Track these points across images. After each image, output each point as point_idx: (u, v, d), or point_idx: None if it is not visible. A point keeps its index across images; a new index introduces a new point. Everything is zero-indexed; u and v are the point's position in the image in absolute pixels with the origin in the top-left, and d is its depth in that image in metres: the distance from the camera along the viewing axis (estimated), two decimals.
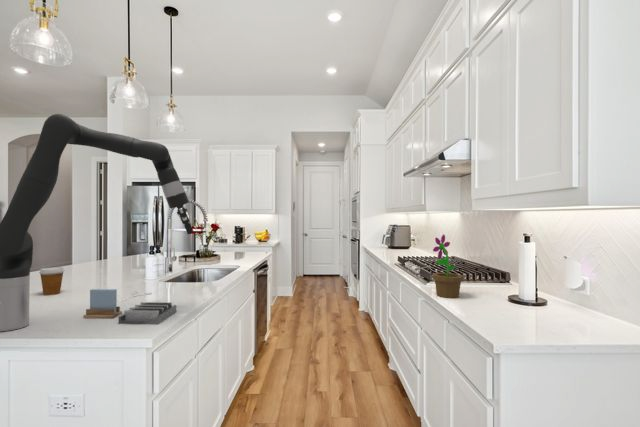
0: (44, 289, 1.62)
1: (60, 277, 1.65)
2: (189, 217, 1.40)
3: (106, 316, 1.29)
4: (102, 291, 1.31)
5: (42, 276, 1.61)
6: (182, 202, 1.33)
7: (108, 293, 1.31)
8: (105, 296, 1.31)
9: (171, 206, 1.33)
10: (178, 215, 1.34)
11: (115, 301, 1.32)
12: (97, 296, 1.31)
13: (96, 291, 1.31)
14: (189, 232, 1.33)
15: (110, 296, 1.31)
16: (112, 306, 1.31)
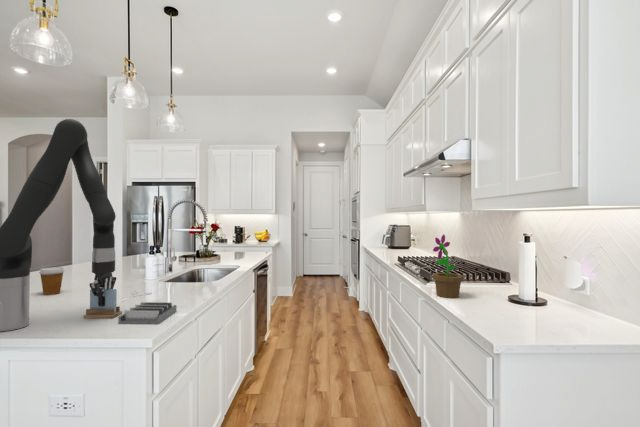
0: (44, 289, 1.62)
1: (60, 277, 1.65)
2: (109, 287, 1.32)
3: (106, 316, 1.29)
4: None
5: (42, 276, 1.61)
6: (101, 271, 1.28)
7: (108, 293, 1.31)
8: (105, 296, 1.31)
9: (92, 271, 1.29)
10: None
11: (115, 301, 1.32)
12: (97, 296, 1.31)
13: None
14: (99, 305, 1.30)
15: (110, 296, 1.31)
16: (112, 306, 1.31)
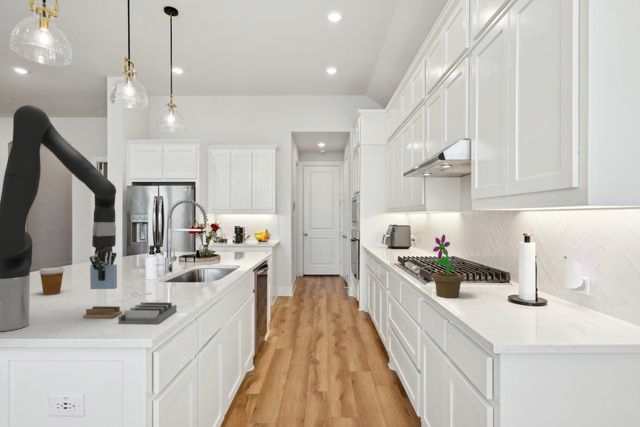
0: (44, 289, 1.62)
1: (60, 277, 1.65)
2: (109, 262, 1.32)
3: (106, 316, 1.29)
4: None
5: (42, 276, 1.61)
6: (102, 245, 1.28)
7: (108, 268, 1.31)
8: (105, 271, 1.31)
9: (92, 245, 1.29)
10: None
11: (115, 276, 1.32)
12: None
13: None
14: (99, 279, 1.30)
15: (110, 271, 1.31)
16: (112, 281, 1.31)
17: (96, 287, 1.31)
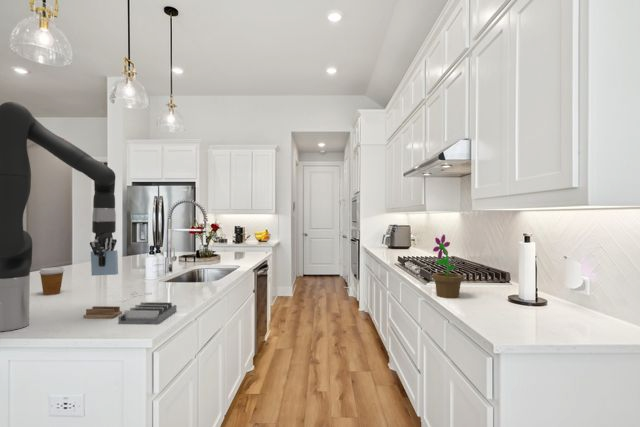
0: (44, 289, 1.62)
1: (60, 277, 1.65)
2: (109, 248, 1.32)
3: (106, 316, 1.29)
4: None
5: (42, 276, 1.61)
6: (102, 231, 1.28)
7: (109, 254, 1.31)
8: (106, 257, 1.31)
9: (92, 231, 1.29)
10: None
11: (116, 262, 1.32)
12: (98, 257, 1.31)
13: None
14: (99, 265, 1.30)
15: (111, 257, 1.31)
16: (113, 267, 1.31)
17: (97, 273, 1.31)
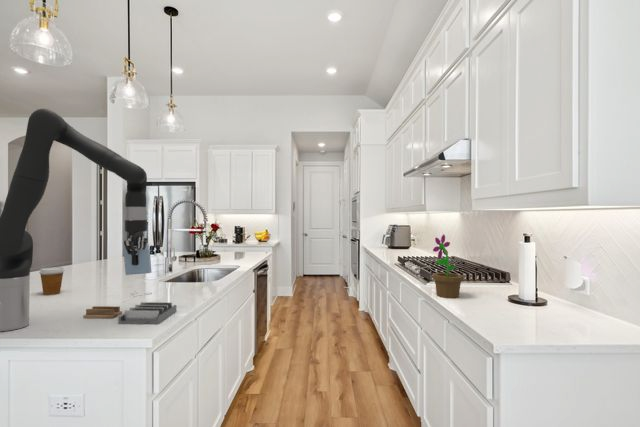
0: (44, 289, 1.62)
1: (60, 277, 1.65)
2: (141, 246, 1.32)
3: (106, 316, 1.29)
4: None
5: (42, 276, 1.61)
6: (135, 229, 1.28)
7: (142, 253, 1.30)
8: (139, 256, 1.30)
9: (125, 229, 1.29)
10: None
11: (149, 261, 1.31)
12: (131, 256, 1.30)
13: None
14: (133, 263, 1.29)
15: (144, 256, 1.30)
16: (147, 265, 1.31)
17: (131, 273, 1.30)
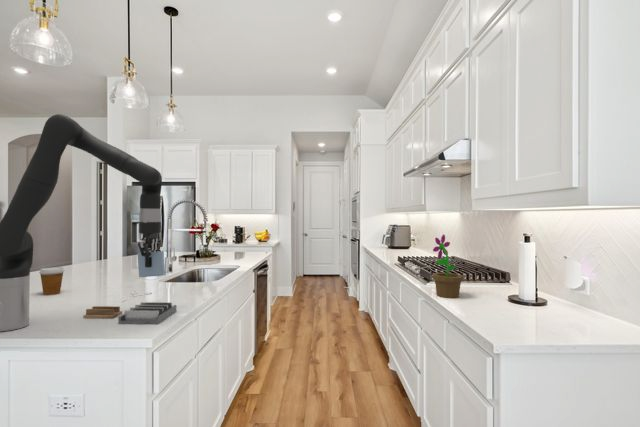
0: (44, 289, 1.62)
1: (60, 277, 1.65)
2: (155, 248, 1.31)
3: (106, 316, 1.29)
4: None
5: (42, 276, 1.61)
6: (149, 231, 1.27)
7: (156, 255, 1.30)
8: (153, 258, 1.30)
9: (139, 231, 1.28)
10: None
11: (163, 263, 1.31)
12: None
13: None
14: (146, 265, 1.29)
15: (158, 258, 1.30)
16: (161, 268, 1.30)
17: (145, 275, 1.30)
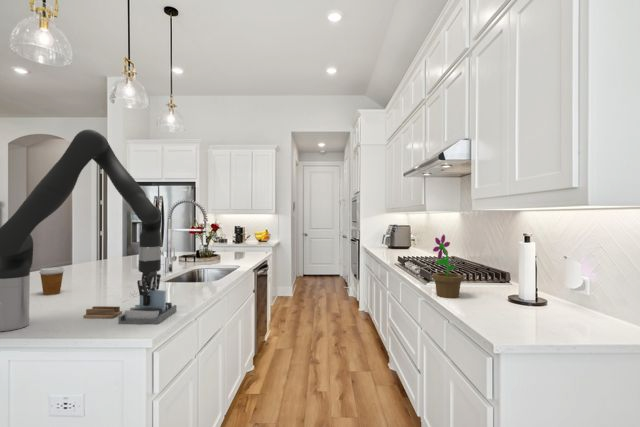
0: (44, 289, 1.62)
1: (60, 277, 1.65)
2: (155, 286, 1.32)
3: (106, 316, 1.29)
4: (152, 292, 1.30)
5: (42, 276, 1.61)
6: (149, 270, 1.27)
7: (158, 294, 1.30)
8: (155, 297, 1.30)
9: None
10: None
11: (164, 302, 1.31)
12: None
13: None
14: (144, 304, 1.28)
15: (160, 297, 1.30)
16: (162, 307, 1.30)
17: None
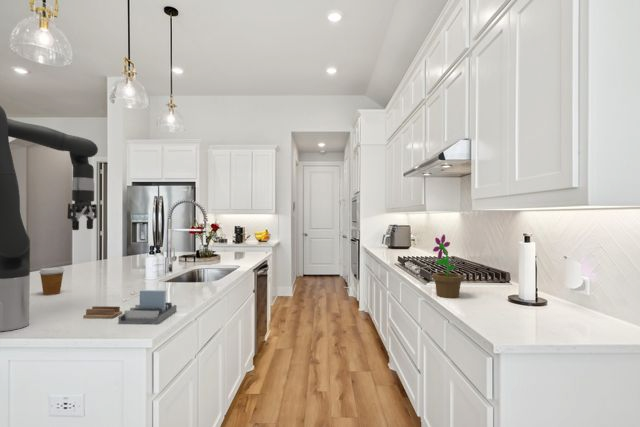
0: (44, 289, 1.62)
1: (60, 277, 1.65)
2: (91, 215, 1.44)
3: (106, 316, 1.29)
4: (152, 292, 1.30)
5: (42, 276, 1.61)
6: (80, 199, 1.37)
7: (158, 294, 1.30)
8: (155, 297, 1.30)
9: (72, 199, 1.38)
10: None
11: (164, 302, 1.31)
12: (147, 297, 1.30)
13: (146, 292, 1.30)
14: (73, 228, 1.36)
15: (160, 297, 1.30)
16: (162, 307, 1.30)
17: None
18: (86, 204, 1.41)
